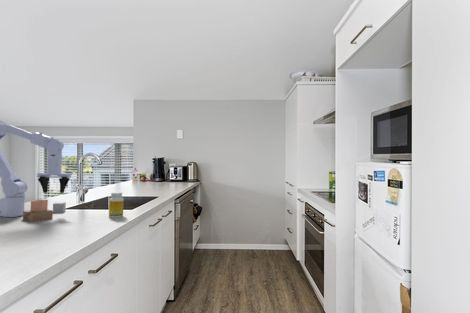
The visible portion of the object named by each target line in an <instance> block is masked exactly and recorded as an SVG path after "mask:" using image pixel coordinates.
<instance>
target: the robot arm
mask: <svg viewBox="0 0 470 313" xmlns="http://www.w3.org/2000/svg"><path fill="white" fill-rule="evenodd" d="M6 135H13V136H17V137H21V138H24V139H26V140H29V142H30V144H32V145H35V146H38V147H41V148H44V149H47V150H48V151H47V166H46V168H47V170H46V171H47V172H37V173H36V177H37V180H38V182H39V183H40V187H41V188H42V192H43V193H44V194H46V193H48V190H49V189H48V187H49V181H50V178H56V179H57V178H58V181H59V193H60V194H63V193H65V189H66V186H67V185H68V183H69V181H70V180H71V178H72V173H62V168H63V166H62V165H63V164H62V163H63V149H64V146H65V145H64V142H63V141H62V140H60V138H59V139H58V138H57V139H56V138H54V136H49V135H46V134H44V133H43V132H42V131H41V132H40V131H39V132H37V131H36V132H33V133H32V132H30V131H27V130H25V129H22V128H19V127H17V126H14V125H11V124H6V123H3V122H0V141H1V140H2V139H3V138H4V137H5V136H6ZM0 178H1V182H0V184H1V187H2V192H3V194H4V196H2V197H0V217H6V218H18V217H21V216H22V217H23V211H25V199H26V195H25V193H26V192H27V191H28V184H27V183H26V182H25V181H23V180H22V179H21V177H20V176H18V175H17V174H16V173H15V171H14V169H13V168H12V167H11V165H10V163H9V161H8V159H7V158H6V156H5V155H4V153H3V151H2V150H1V148H0Z"/></svg>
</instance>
